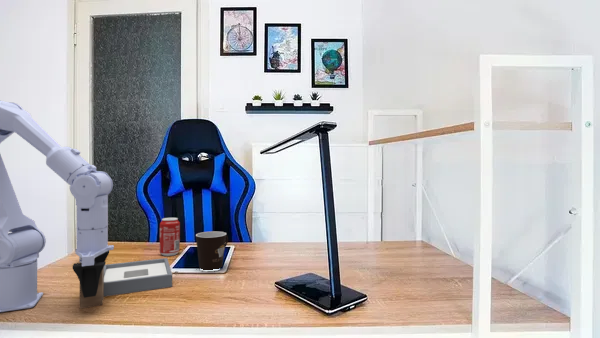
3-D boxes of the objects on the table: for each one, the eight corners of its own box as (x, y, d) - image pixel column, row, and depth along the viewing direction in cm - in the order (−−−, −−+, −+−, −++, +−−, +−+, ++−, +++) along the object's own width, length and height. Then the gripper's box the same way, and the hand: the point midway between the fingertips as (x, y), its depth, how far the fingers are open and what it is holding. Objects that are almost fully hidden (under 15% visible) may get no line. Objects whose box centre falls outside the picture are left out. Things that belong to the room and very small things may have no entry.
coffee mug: (203, 275, 89) (203, 238, 89) (190, 267, 96) (190, 233, 95) (240, 267, 97) (240, 233, 97) (226, 260, 103) (226, 229, 103)
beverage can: (172, 250, 114) (172, 216, 114) (183, 253, 111) (183, 218, 111) (155, 254, 109) (156, 218, 109) (166, 257, 106) (166, 220, 106)
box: (96, 297, 73) (96, 284, 73) (103, 275, 88) (103, 264, 88) (172, 286, 80) (172, 274, 80) (167, 268, 95) (167, 258, 95)
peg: (79, 308, 68) (79, 270, 68) (82, 301, 71) (82, 265, 71) (101, 305, 70) (102, 267, 69) (103, 298, 73) (103, 262, 73)
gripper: (111, 232, 66) (111, 299, 66) (115, 221, 79) (115, 277, 79) (69, 235, 62) (68, 305, 63) (80, 223, 75) (80, 281, 76)
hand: (92, 290), depth 70 cm, fingers open, 7 cm apart
